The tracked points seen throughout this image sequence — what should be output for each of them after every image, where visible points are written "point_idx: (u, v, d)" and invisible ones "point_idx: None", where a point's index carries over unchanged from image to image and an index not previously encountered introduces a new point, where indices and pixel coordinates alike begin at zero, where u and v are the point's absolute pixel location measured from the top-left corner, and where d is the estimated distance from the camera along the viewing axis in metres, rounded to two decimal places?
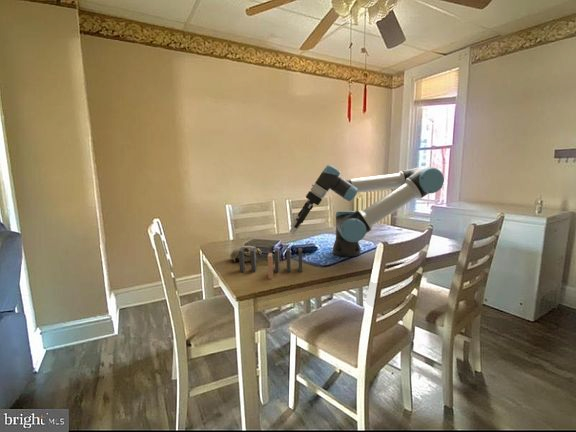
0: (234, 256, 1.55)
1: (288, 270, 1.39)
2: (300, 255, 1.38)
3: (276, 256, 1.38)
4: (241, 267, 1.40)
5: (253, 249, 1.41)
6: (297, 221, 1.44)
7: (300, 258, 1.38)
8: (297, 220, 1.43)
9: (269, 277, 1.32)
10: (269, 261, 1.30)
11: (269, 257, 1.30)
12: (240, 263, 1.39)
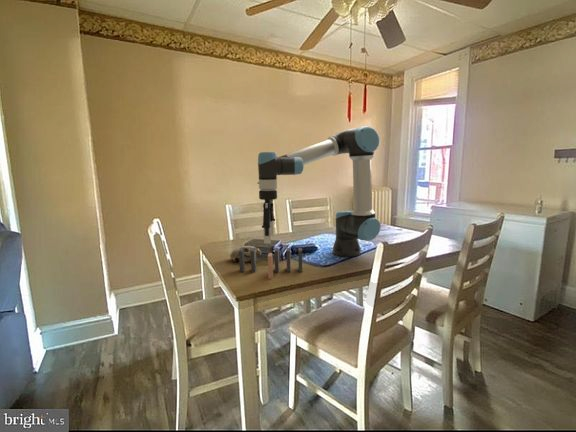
0: (234, 256, 1.54)
1: (288, 270, 1.39)
2: (300, 255, 1.38)
3: (276, 256, 1.38)
4: (241, 267, 1.40)
5: (253, 249, 1.41)
6: (265, 228, 1.23)
7: (300, 258, 1.38)
8: (263, 227, 1.22)
9: (269, 277, 1.32)
10: (269, 261, 1.30)
11: (269, 257, 1.30)
12: (240, 263, 1.39)
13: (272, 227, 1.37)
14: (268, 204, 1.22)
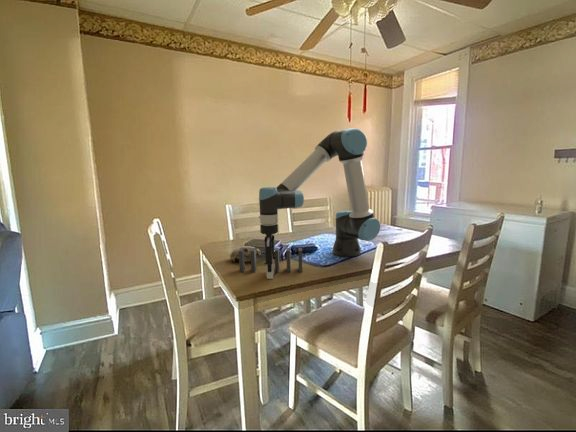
0: (233, 256, 1.54)
1: (288, 270, 1.39)
2: (300, 255, 1.38)
3: (276, 256, 1.38)
4: (241, 267, 1.40)
5: (253, 249, 1.41)
6: (267, 264, 1.30)
7: (300, 258, 1.38)
8: (266, 264, 1.29)
9: None
10: None
11: None
12: (240, 263, 1.39)
13: (272, 265, 1.36)
14: (269, 243, 1.25)
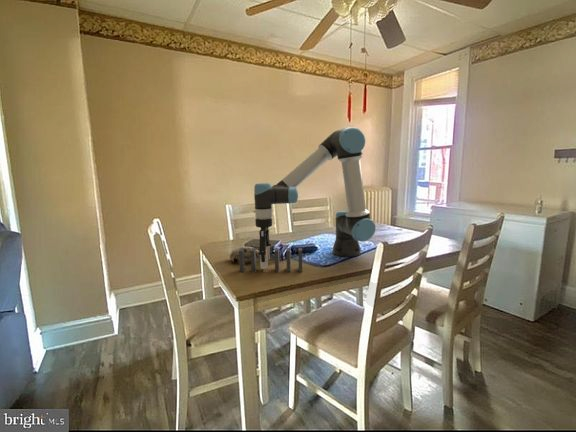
0: (233, 256, 1.54)
1: (288, 270, 1.39)
2: (300, 255, 1.38)
3: (276, 256, 1.38)
4: (241, 267, 1.40)
5: (253, 249, 1.41)
6: (261, 255, 1.34)
7: (300, 258, 1.38)
8: (260, 254, 1.33)
9: (264, 271, 1.40)
10: None
11: None
12: (240, 263, 1.39)
13: (268, 252, 1.47)
14: (264, 233, 1.32)
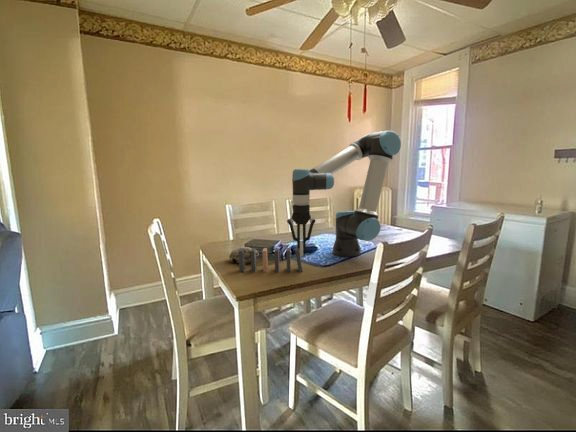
0: (232, 257, 1.54)
1: (288, 270, 1.39)
2: (298, 255, 1.38)
3: (276, 256, 1.38)
4: (241, 267, 1.40)
5: (253, 249, 1.41)
6: None
7: (298, 258, 1.38)
8: None
9: (264, 271, 1.40)
10: (264, 256, 1.38)
11: (264, 252, 1.38)
12: (240, 263, 1.39)
13: None
14: (287, 221, 1.37)
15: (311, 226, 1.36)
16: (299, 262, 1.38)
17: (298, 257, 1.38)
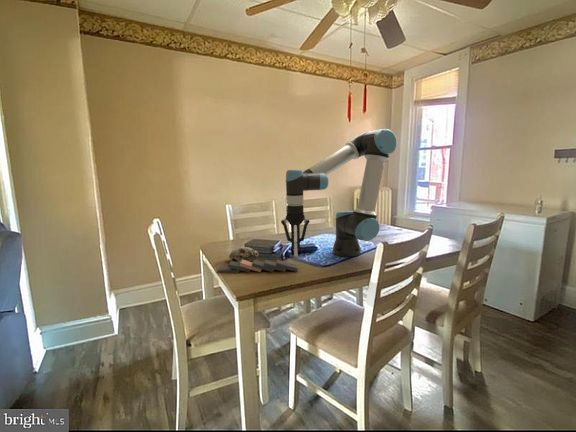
0: (231, 257, 1.54)
1: (283, 270, 1.39)
2: (281, 265, 1.39)
3: (257, 266, 1.39)
4: (234, 271, 1.40)
5: None
6: None
7: (284, 266, 1.39)
8: None
9: (259, 270, 1.40)
10: (244, 266, 1.39)
11: (240, 264, 1.39)
12: (229, 272, 1.40)
13: None
14: (281, 222, 1.37)
15: (305, 227, 1.37)
16: (288, 267, 1.39)
17: (283, 266, 1.39)
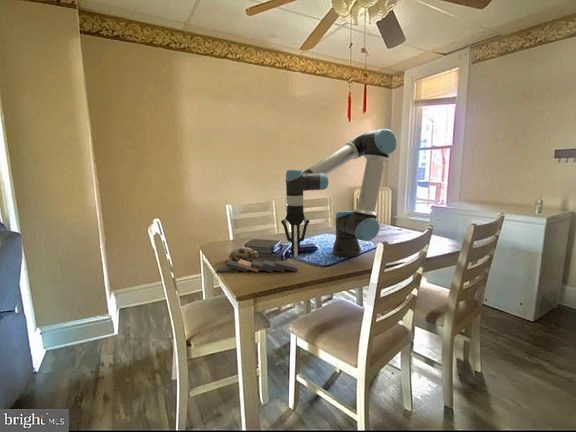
0: (231, 257, 1.54)
1: (282, 270, 1.39)
2: (280, 265, 1.38)
3: (256, 266, 1.39)
4: (233, 271, 1.40)
5: None
6: None
7: (283, 266, 1.39)
8: None
9: (256, 270, 1.40)
10: (242, 265, 1.40)
11: (238, 264, 1.40)
12: (228, 272, 1.41)
13: None
14: (281, 222, 1.37)
15: (305, 227, 1.37)
16: (288, 267, 1.39)
17: (283, 266, 1.39)
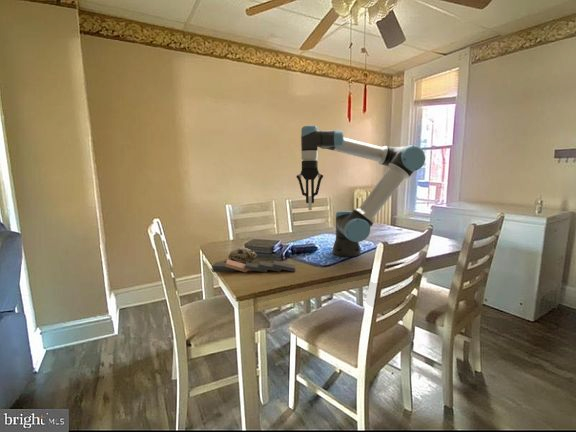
0: (230, 257, 1.53)
1: (278, 270, 1.39)
2: (278, 266, 1.39)
3: (250, 268, 1.38)
4: (229, 271, 1.42)
5: None
6: None
7: (281, 267, 1.39)
8: None
9: (245, 271, 1.40)
10: (230, 266, 1.38)
11: (226, 265, 1.38)
12: None
13: None
14: None
15: (319, 181, 1.44)
16: (285, 267, 1.39)
17: (280, 266, 1.39)
